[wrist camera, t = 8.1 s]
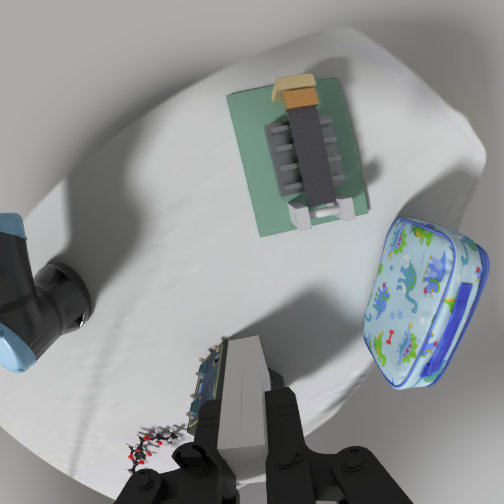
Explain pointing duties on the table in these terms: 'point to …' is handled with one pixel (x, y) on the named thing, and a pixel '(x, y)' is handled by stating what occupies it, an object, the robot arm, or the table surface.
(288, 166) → the heatsink
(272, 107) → the board
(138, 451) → the molecular model
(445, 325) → the lunch box
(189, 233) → the table surface
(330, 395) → the table surface
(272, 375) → the router
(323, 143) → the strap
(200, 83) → the table surface
